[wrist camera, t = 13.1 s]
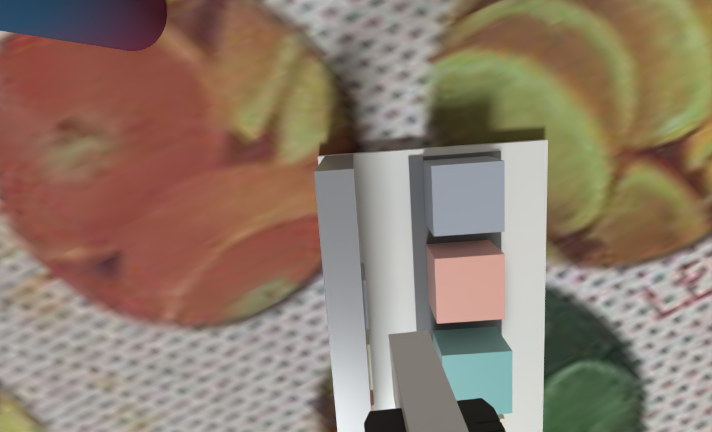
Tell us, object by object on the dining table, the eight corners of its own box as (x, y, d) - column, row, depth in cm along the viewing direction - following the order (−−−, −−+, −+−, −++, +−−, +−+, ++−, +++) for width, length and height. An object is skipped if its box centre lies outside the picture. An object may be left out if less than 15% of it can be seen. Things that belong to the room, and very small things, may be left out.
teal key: (434, 387, 34) (444, 417, 30) (432, 330, 33) (441, 355, 29) (496, 383, 34) (512, 413, 30) (495, 326, 33) (512, 351, 29)
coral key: (428, 302, 34) (436, 323, 30) (426, 244, 33) (434, 259, 30) (489, 298, 34) (504, 319, 30) (488, 239, 33) (504, 254, 30)
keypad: (344, 445, 38) (341, 559, 28) (318, 155, 33) (304, 172, 23) (537, 432, 38) (601, 542, 28) (542, 139, 33) (621, 149, 23)
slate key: (425, 223, 33) (433, 236, 29) (422, 160, 32) (431, 165, 28) (488, 219, 33) (504, 231, 29) (488, 155, 32) (504, 160, 28)
